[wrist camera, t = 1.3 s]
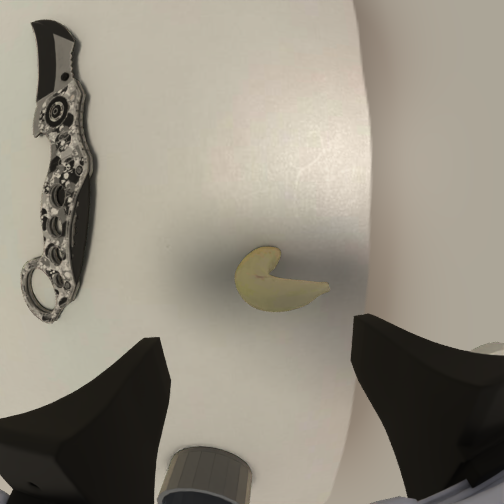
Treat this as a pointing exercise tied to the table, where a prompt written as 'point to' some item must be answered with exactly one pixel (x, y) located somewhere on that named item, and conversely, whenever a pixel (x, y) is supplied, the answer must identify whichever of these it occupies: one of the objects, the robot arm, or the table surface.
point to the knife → (60, 169)
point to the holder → (206, 478)
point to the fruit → (273, 284)
